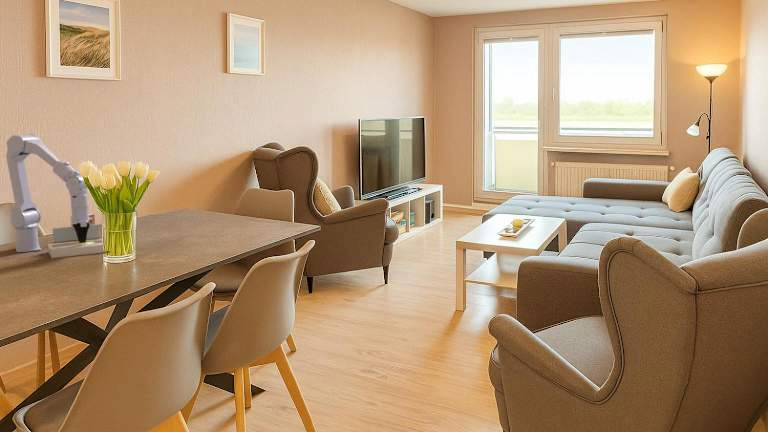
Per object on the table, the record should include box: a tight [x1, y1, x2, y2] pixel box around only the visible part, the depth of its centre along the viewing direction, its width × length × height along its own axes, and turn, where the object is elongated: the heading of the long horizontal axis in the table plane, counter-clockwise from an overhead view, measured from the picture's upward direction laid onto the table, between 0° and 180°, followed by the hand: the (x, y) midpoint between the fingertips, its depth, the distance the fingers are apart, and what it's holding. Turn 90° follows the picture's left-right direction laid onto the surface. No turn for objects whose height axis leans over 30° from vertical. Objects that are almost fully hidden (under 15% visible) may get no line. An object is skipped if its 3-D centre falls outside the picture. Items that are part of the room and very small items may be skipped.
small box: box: [70, 213, 96, 242], centre depth 262 cm, size 8×6×10 cm
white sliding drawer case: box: [47, 238, 104, 259], centre depth 242 cm, size 20×11×3 cm, turn 123°
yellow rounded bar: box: [68, 241, 94, 246], centre depth 243 cm, size 9×3×3 cm, turn 123°
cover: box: [52, 224, 101, 244], centre depth 245 cm, size 17×6×1 cm
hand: (82, 242), depth 240 cm, fingers closed
